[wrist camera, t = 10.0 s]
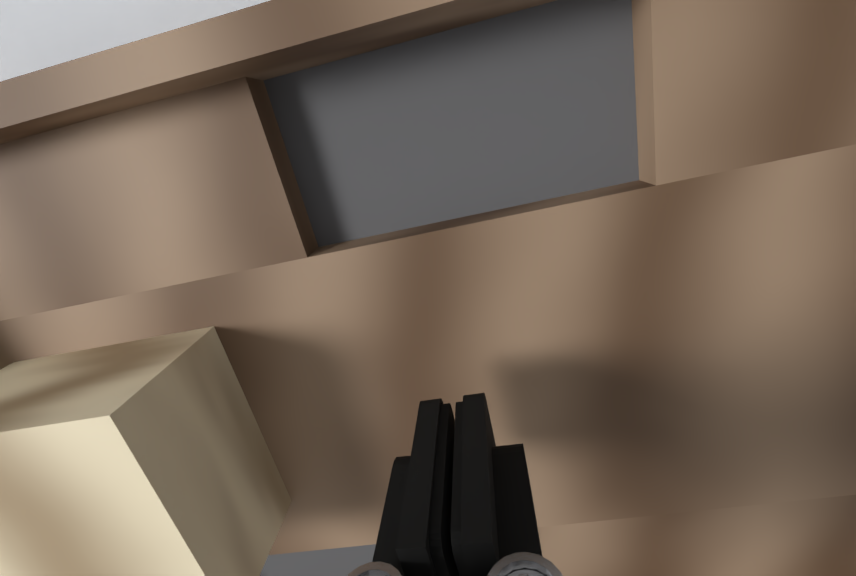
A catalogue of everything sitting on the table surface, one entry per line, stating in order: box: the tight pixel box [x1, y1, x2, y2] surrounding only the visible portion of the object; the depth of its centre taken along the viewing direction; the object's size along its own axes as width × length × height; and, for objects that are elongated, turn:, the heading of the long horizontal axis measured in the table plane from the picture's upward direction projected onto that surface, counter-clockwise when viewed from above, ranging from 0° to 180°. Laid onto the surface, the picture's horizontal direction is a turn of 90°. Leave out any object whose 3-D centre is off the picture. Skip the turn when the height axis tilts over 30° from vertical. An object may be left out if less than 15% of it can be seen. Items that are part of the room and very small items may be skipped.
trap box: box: [0, 0, 856, 576], centre depth 13 cm, size 30×22×3 cm
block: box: [0, 327, 292, 576], centre depth 12 cm, size 7×7×4 cm
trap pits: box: [260, 0, 639, 576], centre depth 14 cm, size 17×20×1 cm
